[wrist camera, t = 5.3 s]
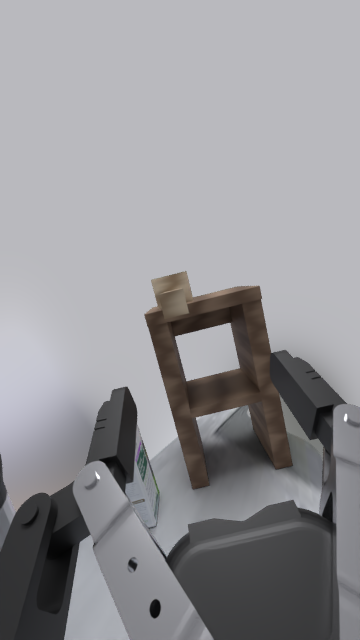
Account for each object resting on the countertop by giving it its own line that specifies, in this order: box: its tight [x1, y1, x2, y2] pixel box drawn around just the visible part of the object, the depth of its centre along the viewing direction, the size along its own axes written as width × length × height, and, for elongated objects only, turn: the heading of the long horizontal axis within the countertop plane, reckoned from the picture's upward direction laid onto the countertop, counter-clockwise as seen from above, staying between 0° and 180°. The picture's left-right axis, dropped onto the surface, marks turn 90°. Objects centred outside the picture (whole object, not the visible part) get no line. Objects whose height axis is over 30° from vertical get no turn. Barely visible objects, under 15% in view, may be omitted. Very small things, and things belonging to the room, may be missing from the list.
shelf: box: [145, 286, 293, 489], centre depth 41 cm, size 18×12×32 cm, turn 91°
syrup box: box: [125, 425, 159, 528], centre depth 35 cm, size 6×6×14 cm
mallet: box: [151, 271, 193, 319], centre depth 31 cm, size 6×20×5 cm, turn 1°
